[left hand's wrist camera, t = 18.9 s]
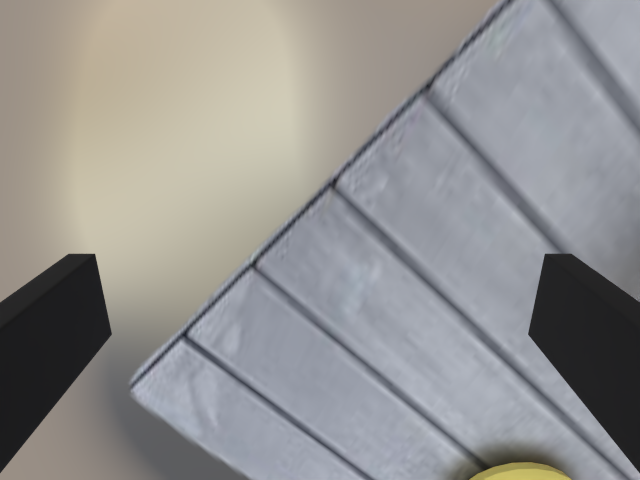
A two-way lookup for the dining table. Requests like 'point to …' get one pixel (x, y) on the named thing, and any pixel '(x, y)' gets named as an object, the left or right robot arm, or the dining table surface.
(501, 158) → the dining table surface
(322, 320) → the dining table surface
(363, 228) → the dining table surface
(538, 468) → the vase
